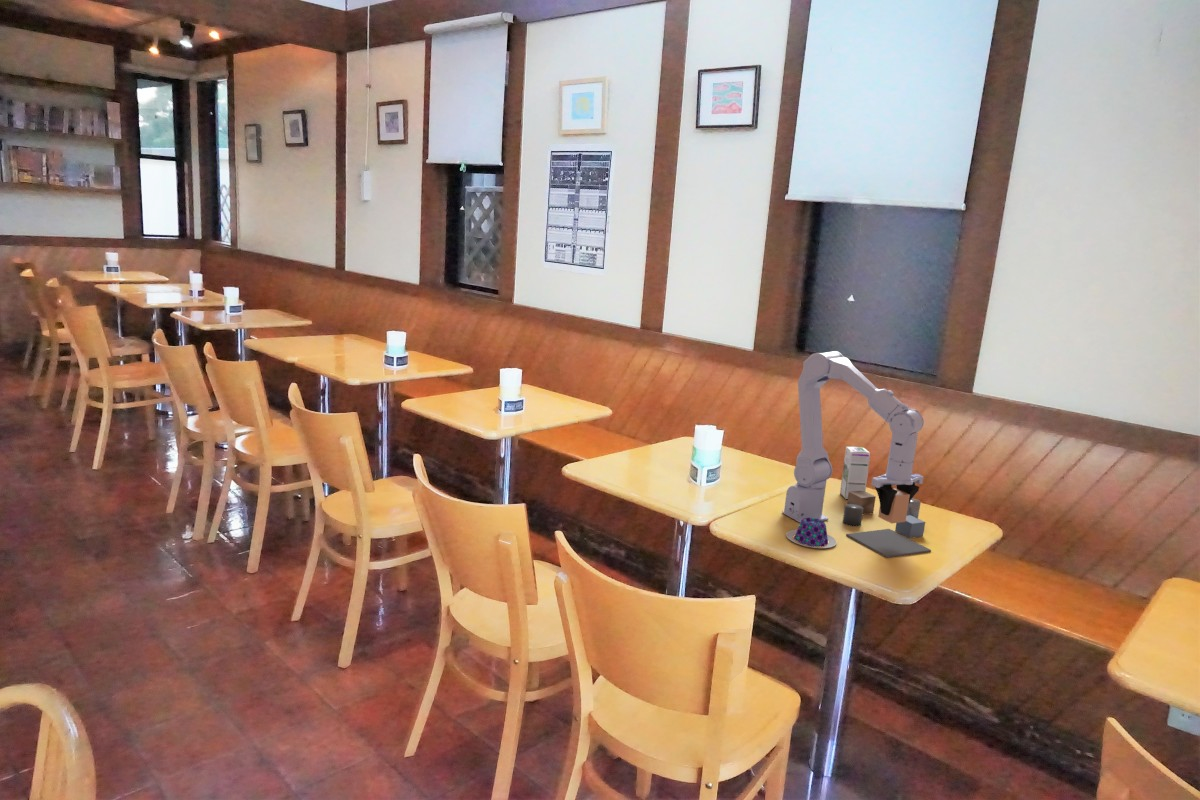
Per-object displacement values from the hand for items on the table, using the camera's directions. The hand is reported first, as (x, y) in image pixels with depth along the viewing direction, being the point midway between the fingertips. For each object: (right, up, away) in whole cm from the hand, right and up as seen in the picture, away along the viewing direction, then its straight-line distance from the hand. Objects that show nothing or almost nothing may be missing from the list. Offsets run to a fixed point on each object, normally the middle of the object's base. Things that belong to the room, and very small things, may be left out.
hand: (892, 512), depth 194 cm
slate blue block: (+8, -7, +10) cm, 14 cm away
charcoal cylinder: (-5, -5, +15) cm, 16 cm away
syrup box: (+1, -1, +36) cm, 36 cm away
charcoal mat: (-1, -8, +2) cm, 8 cm away
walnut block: (0, -3, +24) cm, 25 cm away
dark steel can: (+12, -5, +20) cm, 24 cm away
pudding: (-20, -7, +1) cm, 21 cm away
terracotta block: (0, -2, 0) cm, 2 cm away
